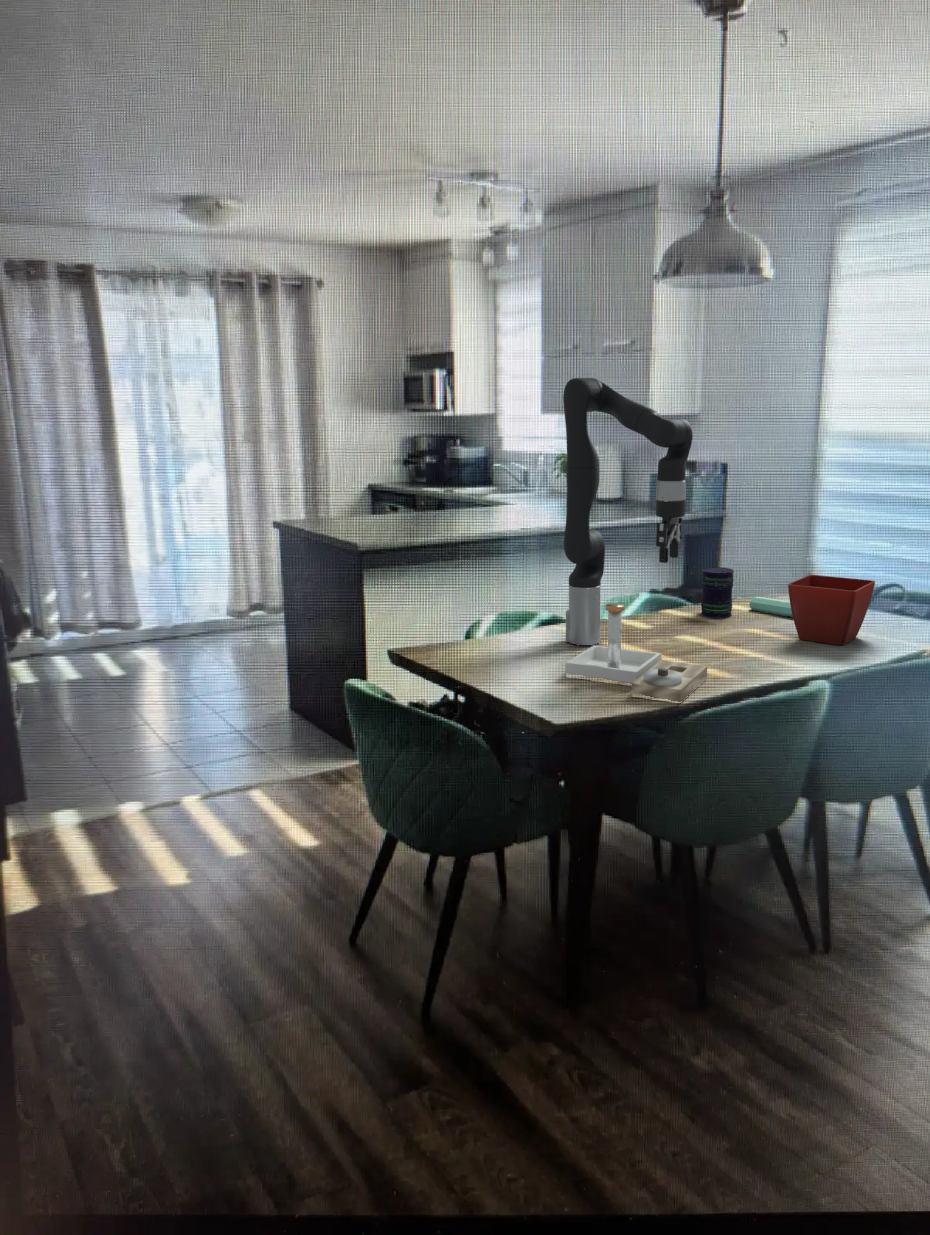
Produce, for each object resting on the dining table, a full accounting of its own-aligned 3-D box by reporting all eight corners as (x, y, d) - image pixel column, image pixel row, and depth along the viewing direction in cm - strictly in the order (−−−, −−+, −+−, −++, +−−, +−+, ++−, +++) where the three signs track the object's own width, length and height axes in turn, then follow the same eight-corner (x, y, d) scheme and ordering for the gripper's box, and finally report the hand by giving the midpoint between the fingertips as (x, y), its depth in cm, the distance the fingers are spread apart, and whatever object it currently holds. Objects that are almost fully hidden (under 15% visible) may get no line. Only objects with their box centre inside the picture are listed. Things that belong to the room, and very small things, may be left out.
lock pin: (602, 670, 238) (602, 606, 234) (609, 665, 242) (609, 602, 238) (619, 672, 235) (620, 608, 231) (626, 667, 239) (627, 604, 235)
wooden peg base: (631, 697, 219) (631, 671, 218) (660, 673, 237) (661, 649, 236) (680, 704, 213) (681, 678, 212) (706, 679, 231) (707, 655, 230)
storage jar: (694, 613, 303) (696, 568, 299) (720, 610, 305) (722, 566, 302) (711, 619, 293) (713, 573, 290) (738, 616, 296) (740, 571, 293)
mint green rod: (749, 592, 304) (818, 602, 285) (758, 596, 308) (827, 607, 289) (744, 609, 304) (813, 621, 285) (754, 613, 308) (822, 625, 289)
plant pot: (806, 627, 281) (810, 573, 277) (871, 636, 269) (876, 580, 265) (783, 640, 266) (786, 583, 263) (851, 650, 255) (855, 591, 251)
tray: (565, 677, 235) (565, 662, 234) (593, 659, 251) (594, 645, 250) (636, 687, 226) (636, 672, 225) (660, 668, 242) (661, 653, 241)
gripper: (665, 494, 244) (663, 554, 248) (647, 500, 232) (646, 563, 236) (693, 495, 241) (690, 556, 244) (676, 501, 229) (674, 565, 232)
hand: (668, 559), depth 240 cm, fingers open, 8 cm apart
